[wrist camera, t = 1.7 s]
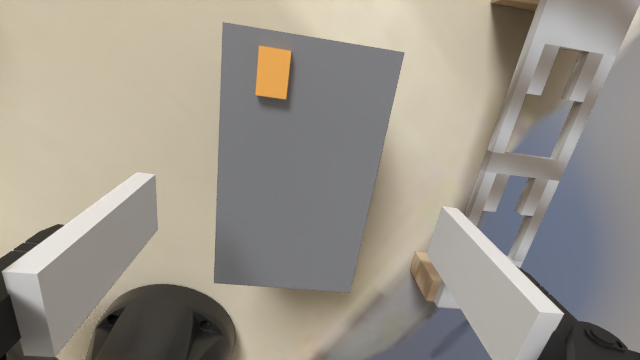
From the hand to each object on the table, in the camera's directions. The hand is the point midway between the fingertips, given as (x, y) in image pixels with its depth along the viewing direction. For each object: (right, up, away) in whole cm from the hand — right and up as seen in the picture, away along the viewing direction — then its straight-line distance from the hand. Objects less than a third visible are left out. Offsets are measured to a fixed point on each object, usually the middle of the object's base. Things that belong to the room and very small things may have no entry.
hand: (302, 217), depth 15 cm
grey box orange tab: (-1, +6, +15) cm, 16 cm away
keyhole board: (+18, +5, +17) cm, 25 cm away
